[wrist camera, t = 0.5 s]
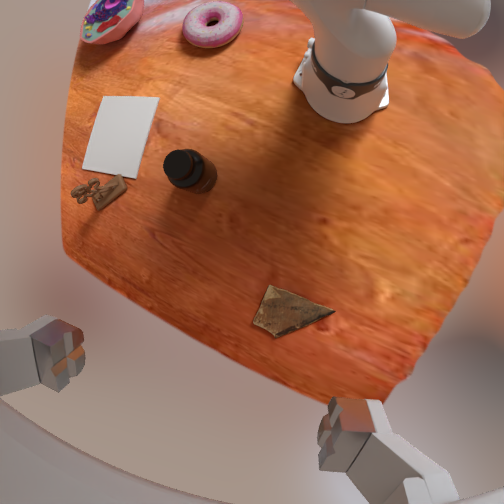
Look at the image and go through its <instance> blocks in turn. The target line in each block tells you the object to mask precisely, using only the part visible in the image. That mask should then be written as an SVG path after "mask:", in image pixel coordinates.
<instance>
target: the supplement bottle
mask: <svg viewBox="0 0 504 504" xmlns="http://www.w3.org/2000/svg"><path fill="white" fill-rule="evenodd" d="M163 168H164V171H165V174H166V175H167V176H168V179H169V181H170V182H171V183H172V184H173V185H174V186H176V187H178V188H180V189H183V190H186V191H189V192H192V193H197V194H201V193H205V192H207V191H209V190H210V189H211V188H212V187H213V186H214V184H215V183H216V180H217V170H216V167H215V166H214V164H213V163H212V162H211V161H209V160H208V159H207V158H205V157H204V156H203V155H201V154H200V153H198V152H197V151H195V150H192V149H183V150H175V151H172V152H170V153H169V154H168V155H167V156H166V158H165V160H164V164H163Z"/></svg>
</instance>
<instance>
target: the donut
mask: <svg viewBox="0 0 504 504" xmlns="http://www.w3.org/2000/svg"><path fill="white" fill-rule="evenodd" d="M215 20H217V21H219V22H218V24H216V25H214V26H210V27H208V26H207V24H208V23H209V22H211V21H215ZM243 22H244V19H243V14H242V12H241V10H240V9H239V8H238V7H236V6H235V5H233V4H231V3H228V2H222V1H213V2H208V3H204V4H201V5H199V6H197V7H195V8H194V9H192V10H191V11H190V12H189V13H188V14H187V15H186V17H185V19H184V22H183V35H184V37H185V38H186V40H187V41H188V42H189V43H191V44H192V45H195V46H197V47H202V48H216V47H219V46H223V45H225V44H227V43H229V42H230V41H232V40H233V39H234V38H235V37H236V36H237V35H238V33H239V32H240V30H241V28H242V26H243Z"/></svg>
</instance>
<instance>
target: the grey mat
mask: <svg viewBox="0 0 504 504" xmlns="http://www.w3.org/2000/svg"><path fill="white" fill-rule="evenodd" d="M159 100H160V98H158V97H135V96H103V99H102V102H101V105H100V108H99V111H98V114H97V117H96V120H95V123H94V126H93V130H92V133H91V136H90V140H89V144H88V147H87V151H86V155H85V158H84V162H83V166H82V169H86V170H92V171H98V172H103V173H109V174H114V175H117V174H121V175H122V176H125V177H130V178H135V179H137V175H138V171H139V167H140V163H141V159H142V156H143V152H144V148H145V145H146V141H147V138H148V134H149V131H150V128H151V125H152V121H153V118H154V115H155V112H156V109H157V106H158V103H159Z"/></svg>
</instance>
